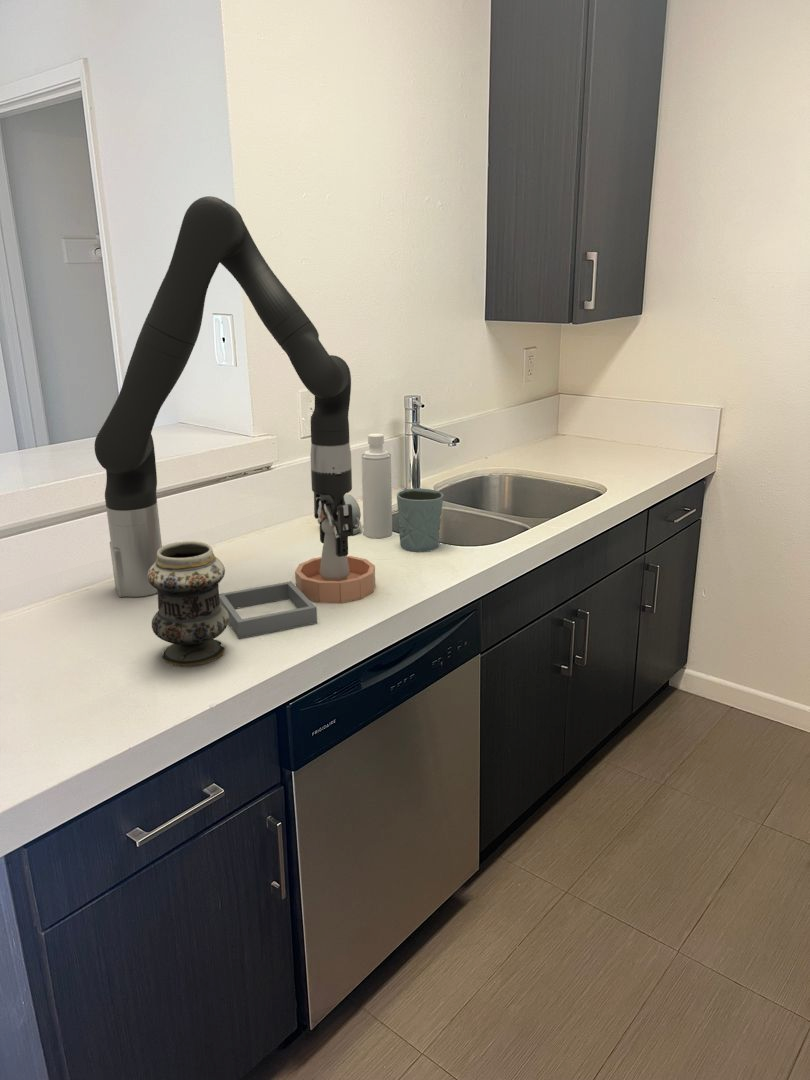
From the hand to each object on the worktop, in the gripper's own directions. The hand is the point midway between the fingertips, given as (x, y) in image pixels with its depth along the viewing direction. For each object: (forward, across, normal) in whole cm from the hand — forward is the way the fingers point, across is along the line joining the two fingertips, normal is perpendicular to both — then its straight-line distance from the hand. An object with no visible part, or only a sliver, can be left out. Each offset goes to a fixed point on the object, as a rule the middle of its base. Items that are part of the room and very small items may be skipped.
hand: (334, 549), depth 158 cm
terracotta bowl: (+8, 0, 0) cm, 8 cm away
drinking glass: (+8, -15, +26) cm, 31 cm away
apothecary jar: (+8, +16, -31) cm, 36 cm away
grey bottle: (+8, -27, +21) cm, 35 cm away
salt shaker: (+7, 0, 0) cm, 7 cm away
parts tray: (+8, +7, -16) cm, 19 cm away
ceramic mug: (+8, -34, +15) cm, 38 cm away
